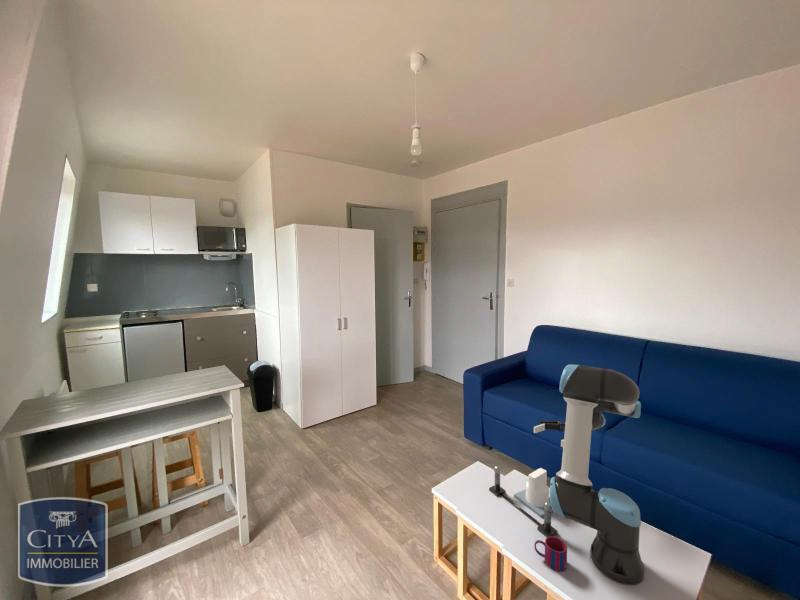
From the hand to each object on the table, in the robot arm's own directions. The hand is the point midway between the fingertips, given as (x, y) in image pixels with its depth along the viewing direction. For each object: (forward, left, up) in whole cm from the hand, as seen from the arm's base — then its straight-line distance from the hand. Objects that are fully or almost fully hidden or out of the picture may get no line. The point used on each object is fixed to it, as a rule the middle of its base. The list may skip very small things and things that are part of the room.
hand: (547, 436), depth 141 cm
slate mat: (-1, +6, -28) cm, 28 cm away
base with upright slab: (-1, +6, -27) cm, 27 cm away
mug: (-26, +21, -28) cm, 44 cm away
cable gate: (-3, +16, -28) cm, 32 cm away
